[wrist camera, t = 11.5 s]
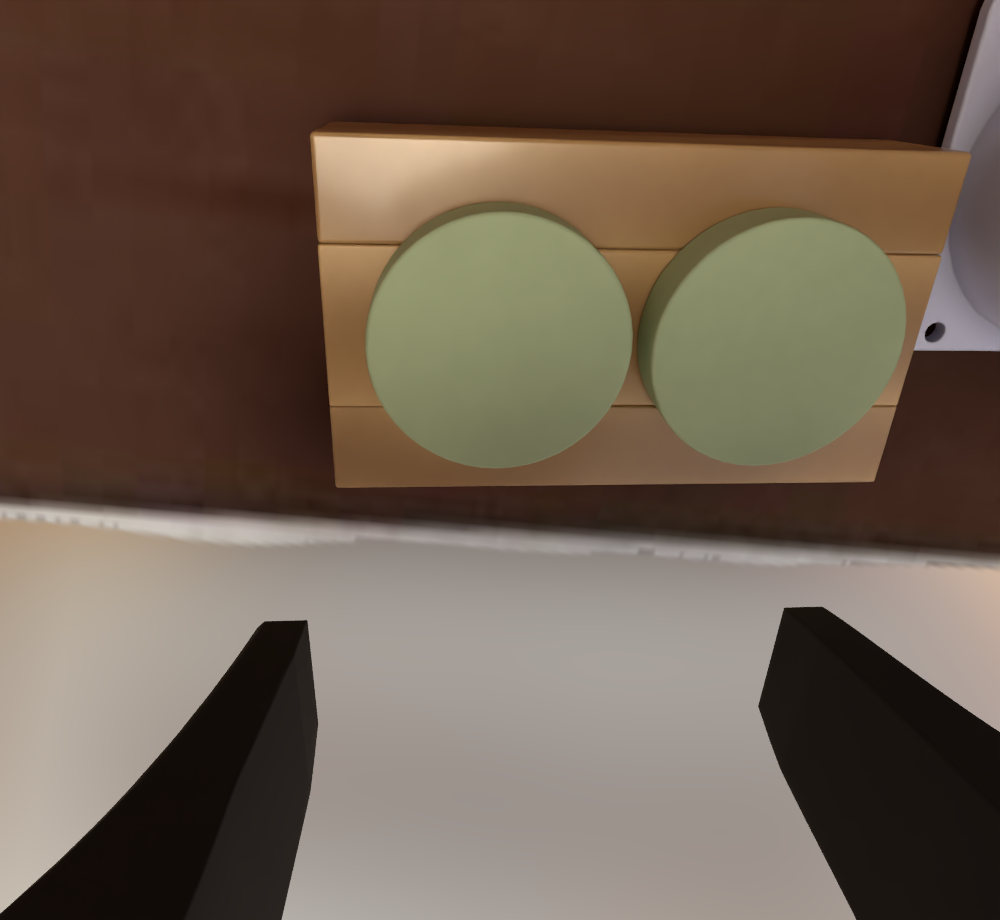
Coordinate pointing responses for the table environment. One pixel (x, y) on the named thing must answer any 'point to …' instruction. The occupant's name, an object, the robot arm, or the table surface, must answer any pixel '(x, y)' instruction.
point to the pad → (497, 335)
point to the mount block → (630, 252)
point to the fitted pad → (771, 335)
